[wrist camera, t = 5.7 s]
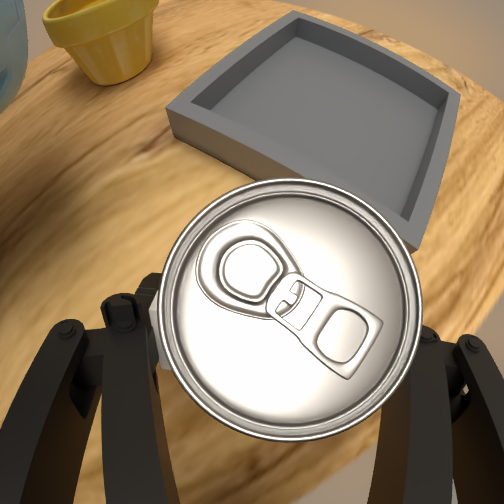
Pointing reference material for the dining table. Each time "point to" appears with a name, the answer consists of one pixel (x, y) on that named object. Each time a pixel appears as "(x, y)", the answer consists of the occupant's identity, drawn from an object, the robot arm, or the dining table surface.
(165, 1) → the dining table surface
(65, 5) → the plant pot
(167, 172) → the dining table surface
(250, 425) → the can
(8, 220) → the dining table surface
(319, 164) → the tray
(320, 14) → the dining table surface
